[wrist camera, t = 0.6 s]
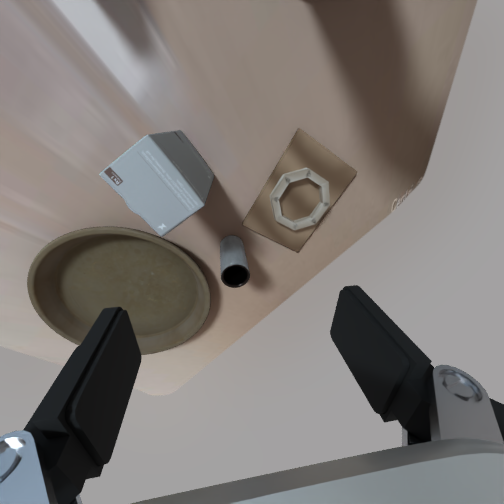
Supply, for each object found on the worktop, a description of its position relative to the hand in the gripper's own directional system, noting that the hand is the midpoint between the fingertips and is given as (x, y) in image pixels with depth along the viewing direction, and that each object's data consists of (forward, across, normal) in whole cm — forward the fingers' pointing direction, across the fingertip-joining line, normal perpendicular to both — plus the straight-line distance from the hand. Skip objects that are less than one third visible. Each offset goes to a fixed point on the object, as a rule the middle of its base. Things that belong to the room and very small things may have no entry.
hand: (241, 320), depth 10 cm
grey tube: (+32, -2, +12) cm, 34 cm away
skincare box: (+32, +6, -3) cm, 32 cm away
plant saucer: (+33, +19, +21) cm, 43 cm away
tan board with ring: (+31, -14, +3) cm, 34 cm away
